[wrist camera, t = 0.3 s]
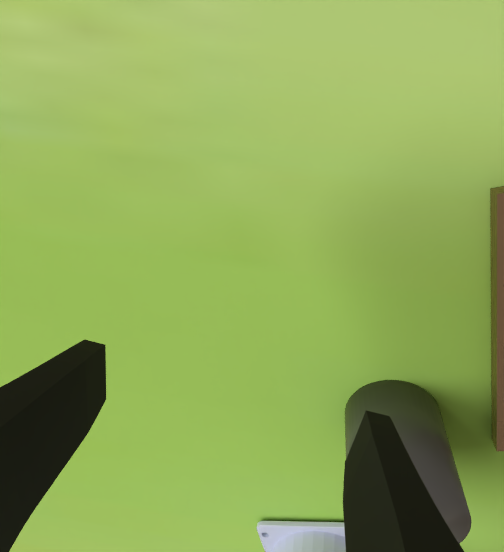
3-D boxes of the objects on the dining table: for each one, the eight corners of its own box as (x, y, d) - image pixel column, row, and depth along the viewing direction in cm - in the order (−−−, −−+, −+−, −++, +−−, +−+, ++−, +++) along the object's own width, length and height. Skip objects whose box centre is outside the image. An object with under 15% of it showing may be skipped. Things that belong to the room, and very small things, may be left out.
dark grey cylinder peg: (442, 446, 23) (472, 557, 18) (351, 448, 25) (355, 553, 19) (437, 376, 21) (469, 480, 16) (338, 383, 23) (338, 480, 17)
